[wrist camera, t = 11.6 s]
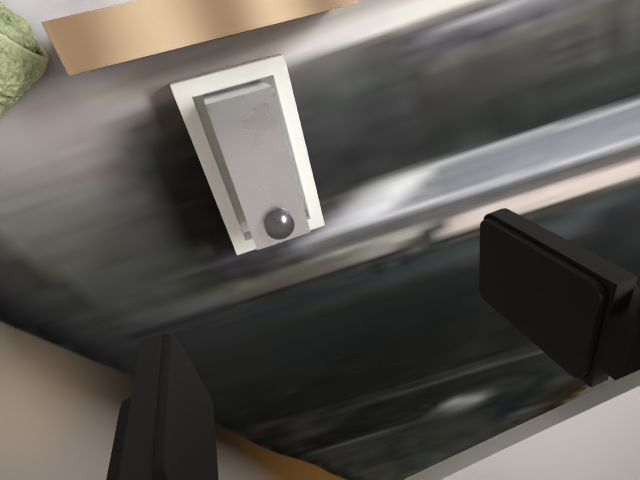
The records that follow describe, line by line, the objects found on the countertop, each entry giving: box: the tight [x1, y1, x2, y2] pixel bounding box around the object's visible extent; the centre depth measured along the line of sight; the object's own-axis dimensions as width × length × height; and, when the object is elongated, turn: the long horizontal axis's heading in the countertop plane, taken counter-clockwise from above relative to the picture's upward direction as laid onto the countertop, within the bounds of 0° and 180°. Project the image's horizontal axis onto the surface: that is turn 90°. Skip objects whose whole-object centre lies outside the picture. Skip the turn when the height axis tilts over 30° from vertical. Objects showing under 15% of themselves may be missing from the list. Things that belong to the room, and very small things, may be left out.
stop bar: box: [203, 80, 310, 250], centre depth 26 cm, size 4×10×6 cm, turn 12°
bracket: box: [170, 54, 324, 255], centre depth 28 cm, size 8×13×2 cm, turn 13°
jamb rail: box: [41, 0, 358, 75], centre depth 22 cm, size 16×2×5 cm, turn 103°
